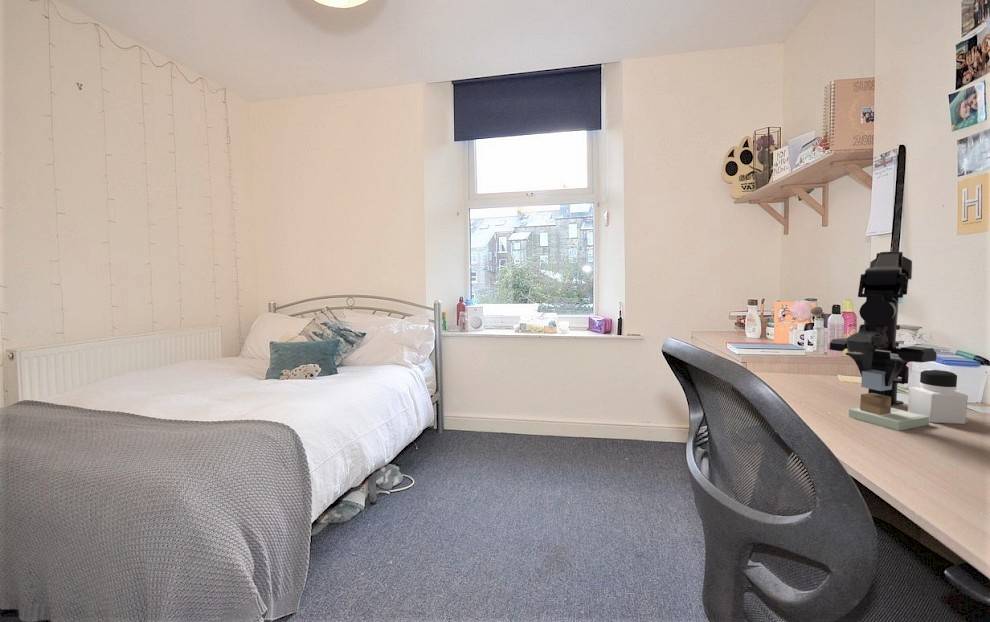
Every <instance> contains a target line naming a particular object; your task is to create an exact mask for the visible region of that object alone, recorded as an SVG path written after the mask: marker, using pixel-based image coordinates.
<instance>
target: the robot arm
mask: <svg viewBox="0 0 990 622" xmlns="http://www.w3.org/2000/svg"><path fill="white" fill-rule="evenodd" d="M875 257H876V258H874V259H872V260H871V261H870V263H869V267H868V268H866V269H865V270H864V273H861V274H860V278H859V285H858V293H857V297H858V298H866V299H865V301H864V303H863V304H862V305H861V306H860V308H859V311H858V312H859V316H860V318H861V319H862V320H863V324H860V325H859V328H858V331H857V332H856V333H853V334H851V335H849V336H848V337H842V338H833V339H832V340H831V341H830V342H829V343H828V344H829V346H828V350H830V351H836V352H843V351H845V350H846V351H847V352H845V353H844V355H846V356H848V357H850V358H851V359H852V360H853V361H854V362H855V365H856V366H857V368H858V370H859V373H860V376H861V377H862V371H867V370H877V371H883V372H886V374H885V386H890V385H891V384H892V389H891V390H884V391H878V390H873V389H869V388H867V389H868V393H875V394H880V395H884V396H889V397H891V407H892V406H897V405H903V404H904V401H902V400H897V399H898V386H899V385H898V384H901V385H906V384H909V376H910V375H909V374H910V373H909V370H910V368H909V366H908V365H907V364H908V363H928V362H930V363H931V362H936V361H937V352H936V351H935V349H934V348H933V347H924V346H923V347H922V346H916V345H915V346H913V345H912V346H903V347H900V342H899V341H898V342H897V341H896V340H897V330H898V331H899V330H900V328H901V325H898V316H899V300H900V299H903V298H904V295H908V288H909V280H912V277H913V260H912V259H909V258H907V257H905V256H904V254H903V251H898V250H897V251H896V250H894V251H880V252H878V253H877V252H876V256H875Z"/></svg>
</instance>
